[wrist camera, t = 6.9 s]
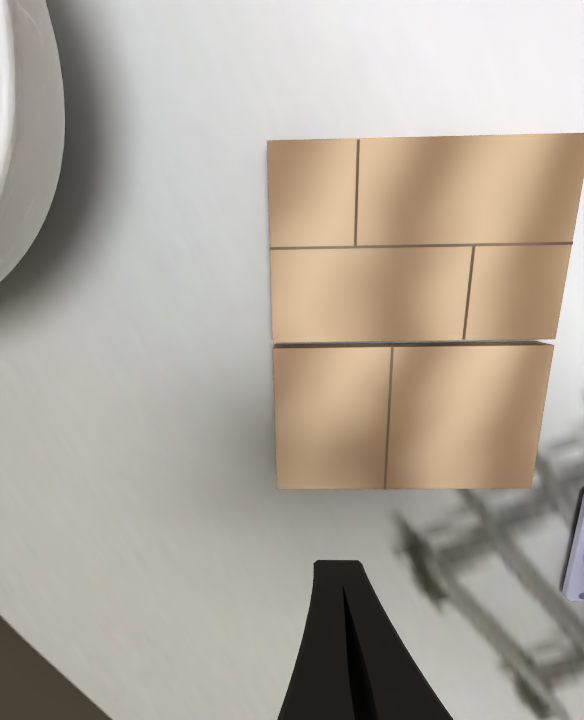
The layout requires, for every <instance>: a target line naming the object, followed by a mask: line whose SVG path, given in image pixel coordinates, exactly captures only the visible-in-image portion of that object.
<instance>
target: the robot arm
mask: <svg viewBox="0 0 584 720" xmlns="http://www.w3.org/2000/svg"><path fill="white" fill-rule="evenodd" d="M562 593H563V595H564V596H565V597H566V598H567V599H568V600H569V601H584V495H583V500H582V504H581V509H580V513H579V518H578V522H577V527H576V531H575V536H574V540H573V545H572V549H571V554H570V558H569V563H568V568H567V572H566V577H565V581H564V586H563V590H562ZM277 720H453V718H452V717H451V716H450V714H449V713H448V711H447V710H446V709H445V707H444V706H443V704H442V703H441V701H440V700H439V698H438V697H437V695H436V694H435V693H434V691H433V690H432V688H431V687H430V685H429V684H428V682H427V680H426V679H425V677H424V676H423V674H422V673H421V671H420V670H419V668H418V666H417V665H416V663H415V662H414V660H413V659H412V657H411V655H410V654H409V652H408V650H407V649H406V647H405V646H404V644H403V642H402V640H401V639H400V637H399V635H398V634H397V632H396V630H395V628H394V627H393V625H392V623H391V621H390V620H389V618H388V616H387V614H386V612H385V611H384V609H383V607H382V605H381V603H380V601H379V599H378V597H377V595H376V594H375V592H374V590H373V587H372V585H371V583H370V581H369V579H368V577H367V575H366V573H365V570H364V568H363V565H362V563H360V562H359V561H358V560H317V561H316V562H315V563H314V578H313V588H312V595H311V601H310V607H309V611H308V616H307V620H306V625H305V630H304V634H303V638H302V642H301V645H300V649H299V653H298V656H297V660H296V663H295V667H294V670H293V674H292V677H291V680H290V683H289V687H288V690H287V693H286V696H285V699H284V702H283V705H282V708H281V711H280V713H279V716H278V719H277Z"/></svg>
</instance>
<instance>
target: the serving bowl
mask: <svg viewBox="0 0 584 720" xmlns="http://www.w3.org/2000/svg"><path fill="white" fill-rule="evenodd" d="M64 135H65V108H64V90H63V80H62V73H61V67H60V60H59V54H58V49H57V44H56V39H55V35H54V31H53V27H52V24H51V20H50V16H49V12H48V8H47V5H46V1H45V0H0V282H1V281H2V280H3V279H4V278H5V277H6V276H7V275H8V274H9V273H10V272H11V271H12V270H13V269H14V267H15V266H16V265H17V264H18V262H19V261H20V260H21V259H22V257H23V256H24V255H25V254H26V252H27V251H28V249H29V248H30V246H31V245H32V243H33V242H34V240H35V238H36V236H37V235H38V233H39V231H40V229H41V227H42V225H43V223H44V221H45V219H46V216H47V214H48V212H49V209H50V206H51V203H52V200H53V197H54V194H55V191H56V188H57V184H58V179H59V175H60V170H61V164H62V157H63V150H64Z"/></svg>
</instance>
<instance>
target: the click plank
mask: <svg viewBox="0 0 584 720" xmlns="http://www.w3.org/2000/svg"><path fill="white" fill-rule="evenodd" d="M553 350H554V345H551V344H547V343H542V342H538V341H523V342H441V343H359V344H277V345H274V347H273V368H274V403H275V438H276V473H277V489H517V488H531V485H532V479H533V472H534V466H535V460H536V454H537V448H538V442H539V436H540V430H541V423H542V417H543V411H544V405H545V399H546V393H547V387H548V380H549V374H550V368H551V362H552V356H553Z"/></svg>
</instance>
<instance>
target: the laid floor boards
mask: <svg viewBox="0 0 584 720" xmlns="http://www.w3.org/2000/svg"><path fill="white" fill-rule="evenodd" d="M267 164H268V198H269V232H270V265H271V299H272V333H273V343H290V342H371V341H453V340H534V339H555V338H556V332H557V326H558V321H559V315H560V309H561V303H562V298H563V292H564V286H565V281H566V275H567V269H568V264H569V258H570V252H571V247H572V244H573V242H572V241H573V235H574V230H575V224H576V218H577V213H578V207H579V201H580V195H581V190H582V184H583V178H584V133H561V134H520V135H478V136H437V137H396V138H355V139H313V140H272V141H267Z"/></svg>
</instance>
